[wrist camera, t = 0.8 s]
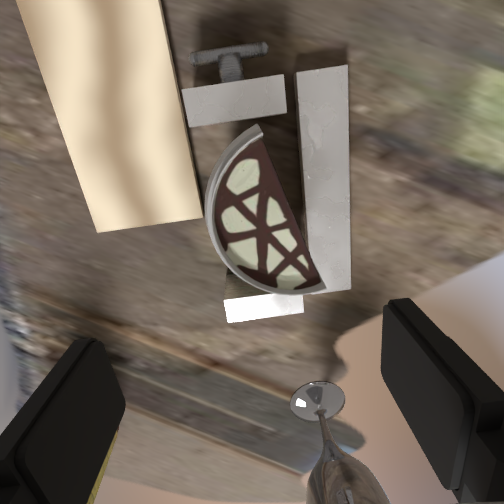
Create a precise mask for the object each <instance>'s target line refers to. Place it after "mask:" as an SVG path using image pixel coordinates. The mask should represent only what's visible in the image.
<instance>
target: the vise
mask: <svg viewBox="0 0 504 504" xmlns="http://www.w3.org/2000/svg"><path fill="white" fill-rule="evenodd" d="M268 51H269V46H268V44H267V43H266V42H264V41H261V42H254V43H248V44H241V45H235V46H228V47H222V48H215V49H209V50H202V51H196V52H192V53H190V55H189V58H188V59H189V62H190V64H191V65H192V66H202V65H208V64H215V63H218V69H219V76H220V82H221V84H215V85H209V86H202V87H195V88H189V89H182V94H183V99H184V104H185V109H186V114H187V119H188V124H189V127H202V126H209V125H216V124H222V123H229V122H236V121H242V120H249V119H256V118H263V117H269V116H276V115H281V114H284V113H287V108H286V96H285V84H284V74H281V75H275V76H268V77H261V78H255V79H248V80H244V72H243V65H242V59H247V58H254V57H260V56H265V55H266V54H267V53H268ZM293 78H294V91H295V105H296V118H297V132H298V145H299V159H300V172H301V185H302V199H303V212H304V226H305V239H306V246H307V248H308V251H309V252H310V255H311V258H312V260H313V262H314V264H315V266H316V268H317V270H318V272H319V274H320V276H321V278H322V280H323V282H324V284H325V285H326V287H327V289H326V290H323V291H320V292H317V293H312V294H319V293H326V292H334V291H341V290H348V289H351V254H350V186H349V117H348V65H342V66H336V67H329V68H322V69H316V70H309V71H303V72H296V73H295V74H294V75H293ZM224 304H225V309H226V314H227V319H228V323H230V322H237V321H244V320H252V319H259V318H266V317H274V316H281V315H288V314H296V313H303V312H304V308H303V296H302V295H295V296H289V295H279V294H274V293H270V292H266V291H264V290H261V289H259V288H256V287H254V286H252V285H251V284H249V283H247V282H245V281H244V280H242V279H241V278H239V277H238V276H237V275H236V274H231V275H226V283H225V294H224Z"/></svg>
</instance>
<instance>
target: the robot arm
mask: <svg viewBox="0 0 504 504" xmlns="http://www.w3.org/2000/svg"><path fill="white" fill-rule="evenodd" d="M382 326H383V327H382V350H381V374H382V377H383V379H384V382H385V383H386V385H387V387H388V389H389V391H390V392H391V394H392V396H393V398H394V400H395V401H396V403H397V405H398V407H399V409H400V410H401V412H402V414H403V416H404V418H405V419H406V421H407V423H408V425H409V426H410V428H411V430H412V432H413V433H414V435H415V437H416V439H417V441H418V443H419V444H420V446H421V448H422V450H423V451H424V453H425V455H426V457H427V459H428V461H429V462H430V464H431V466H432V468H433V470H434V471H435V473H436V475H437V477H438V478H439V480H440V482H441V484H442V485H443V486H444V488H445V489H447V490H452V492H453V493H454V495H455V497H456V499H457V500H458V502H459V503H458V504H504V392H503V391H502V390H501V389H500V388H499V387H498V385H496V384H495V382H493V381H492V379H491V378H490V377H489V376H487V374H486V373H485V372H484V371H483V370H482V369H481V368H480V367H479V366H478V365H477V364H476V363H475V362H474V361H473V360H472V359H471V358H470V357H469V356H468V355H467V354H466V353H465V352H464V351H463V350H462V349H461V348H460V347H459V346H458V345H457V344H456V343H455V342H454V341H453V340H452V339H450V338H449V337H448V336H446V335H445V334H444V333H443V332H442V331H441V330H440V329H439V328H438V327H437V326H436V325H435V324H434V323H433V322H432V321H431V320H430V319H429V318H428V317H427V316H426V314H425V313H424V312H423V311H422V310H421V309H420V308H418V306H417V305H416V304H415V303H414V302H413V301H412V300H411V299H409V298H402V299H394V300H390V301H389V302H388V305H385V306H384V307H383V325H382ZM125 405H126V404H125V399H124V396H123V394H122V391H121V388H120V386H119V383H118V381H117V378H116V376H115V373H114V371H113V368H112V366H111V363H110V360H109V358H108V355H107V353H106V350H105V348H104V345H103V343H102V342H100V341H98V340H97V339H96V338H87V339H79V340H75V341H74V342H73V343H72V344H71V345H70V347H69V348H68V349H67V351H66V352H65V353H64V354H63V356H62V357H61V358H60V360H59V361H58V362H57V363H56V365H55V366H54V367H53V369H52V370H51V371H50V372H49V374H48V375H47V376H46V377H45V379H44V380H43V381H42V383H41V384H40V385H39V386H38V388H37V389H36V390H35V392H34V393H33V394H32V395H31V397H30V398H29V399H28V400H27V402H26V403H25V404H24V406H23V407H22V408H21V409H20V411H19V412H18V413H17V415H16V416H15V417H14V419H13V420H12V421H11V422H10V424H9V425H8V426H7V427H6V429H5V430H4V431H3V433H2V434H1V435H0V504H87V502H88V499H89V497H90V494H91V492H92V489H93V487H94V485H95V482H96V480H97V477H98V475H99V472H100V470H101V468H102V465H103V463H104V460H105V458H106V455H107V453H108V451H109V448H110V446H111V443H112V441H113V438H114V436H115V434H116V431H117V429H118V426H119V424H120V421H121V419H122V417H123V414H124V411H125Z"/></svg>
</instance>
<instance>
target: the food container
mask: <svg viewBox="0 0 504 504" xmlns="http://www.w3.org/2000/svg"><path fill="white" fill-rule="evenodd" d="M262 137H263V132H262V131H261V129H260V127H259V125H258V124H255V125H254V126H252V127H250V128H249V129H247V130H246V131H244V132H243V133H242V134H241V135H239V136H238V137H237V138H236V139H235V140H233V141H232V142H231V144H230V145H229V146H228V147H227V148H226V149H225V151H224V152H223V153H222V154H221V156H220V158H219V159H218V161H217V163H216V164H215V166H214V168H213V171H212V173H211V176H210V178H209V181H208V185H207V190H206V194H205V218H206V224H207V228H208V231H209V235H210V237H211V240H212V242H213V244H214V247H215V249H216V251H217V253H218V254H219V256H220V257H221V259H222V260H223V262H224V263H225V264H226V265H227V266H228V268H229V269H230V270H231V271H232V272H233V273H235V274H236V275H237V276H238V277H239V278H241V279H242V280H244V281H245V282H247V283H249V284H251V285H252V286H254V287H256V288H259V289H261V290H264V291H266V292H270V293H274V294H279V295H289V296H295V295H307V294H312V293H317V292H320V291H323V290H326V289H327V287H326V285H325V284H324V282H323V280H322V278H321V276H320V274H319V272H318V270H317V268H316V266H315V264H314V262H313V260H312V258H311V255H310V252H309V251H308V248H307V246H306V244H305V241H304V239H303V237H302V234H301V232H300V228H299V226H298V224H297V222H296V219H295V217H294V215H293V212H292V210H291V209H292V208H291V207H290V205H289V203H288V200H287V198H286V196H285V193H284V190H283V188H282V185H281V182H280V180H279V178H278V176H277V173H276V171H275V168H274V166H273V164H272V161H271V159H270V156H269V154H268V152H267V149H266V147H265V145H264V143H263V140H262Z"/></svg>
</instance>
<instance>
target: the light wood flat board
mask: <svg viewBox="0 0 504 504" xmlns="http://www.w3.org/2000/svg"><path fill="white" fill-rule="evenodd" d="M16 2H17V5H18V8H19V10H20V13H21V16H22V19H23V22H24V25H25V28H26V30H27V33H28V36H29V39H30V42H31V45H32V48H33V50H34V53H35V56H36V59H37V62H38V65H39V68H40V70H41V73H42V76H43V79H44V82H45V85H46V88H47V90H48V93H49V96H50V99H51V102H52V105H53V108H54V110H55V113H56V116H57V119H58V122H59V125H60V127H61V130H62V133H63V136H64V139H65V142H66V145H67V147H68V150H69V153H70V156H71V159H72V162H73V165H74V167H75V170H76V173H77V176H78V179H79V182H80V185H81V187H82V190H83V193H84V196H85V199H86V202H87V205H88V207H89V210H90V213H91V216H92V219H93V222H94V225H95V227H96V230H97V233H98V232H105V231H112V230H119V229H126V228H133V227H140V226H147V225H154V224H161V223H168V222H175V221H182V220H189V219H196V218H203V216H204V211H203V206H202V202H201V197H200V192H199V187H198V182H197V177H196V172H195V167H194V162H193V157H192V152H191V148H190V143H189V138H188V133H187V128H186V123H185V118H184V113H183V108H182V103H181V98H180V94H179V89H178V84H177V79H176V74H175V69H174V64H173V59H172V54H171V49H170V44H169V40H168V35H167V30H166V25H165V20H164V15H163V10H162V5H161V0H16Z"/></svg>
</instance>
